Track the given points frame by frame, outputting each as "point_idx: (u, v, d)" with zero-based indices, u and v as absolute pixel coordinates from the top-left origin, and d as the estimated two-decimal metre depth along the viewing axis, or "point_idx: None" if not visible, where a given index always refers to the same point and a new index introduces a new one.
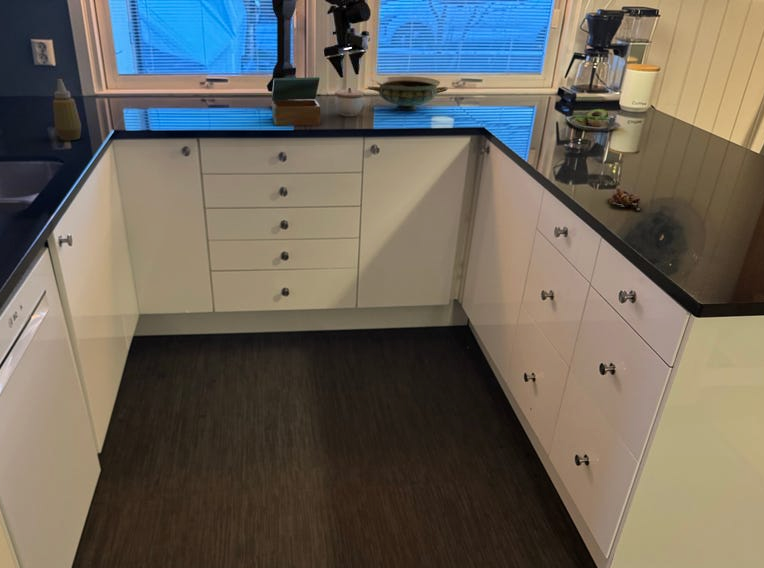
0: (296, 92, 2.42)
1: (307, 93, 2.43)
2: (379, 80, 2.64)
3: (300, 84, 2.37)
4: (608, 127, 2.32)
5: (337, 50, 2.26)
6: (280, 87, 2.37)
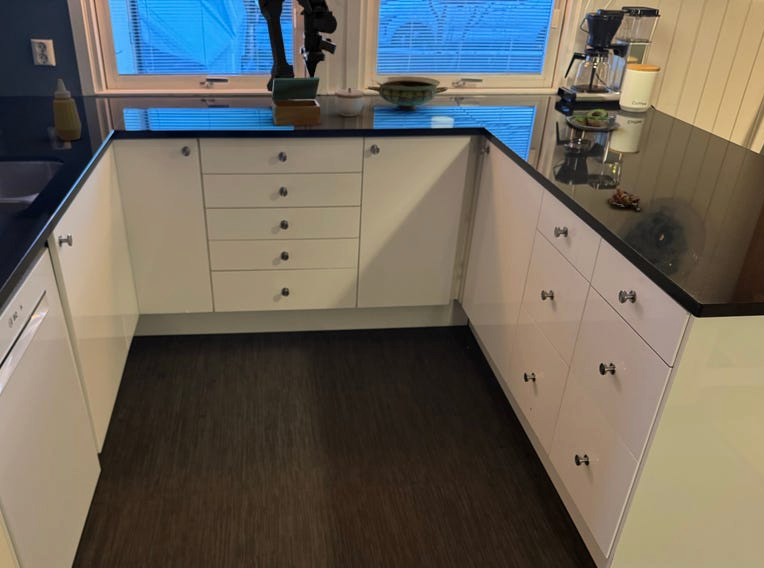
0: (296, 92, 2.42)
1: (307, 93, 2.43)
2: (379, 80, 2.64)
3: (300, 84, 2.37)
4: (608, 127, 2.32)
5: (324, 57, 2.33)
6: (280, 87, 2.37)
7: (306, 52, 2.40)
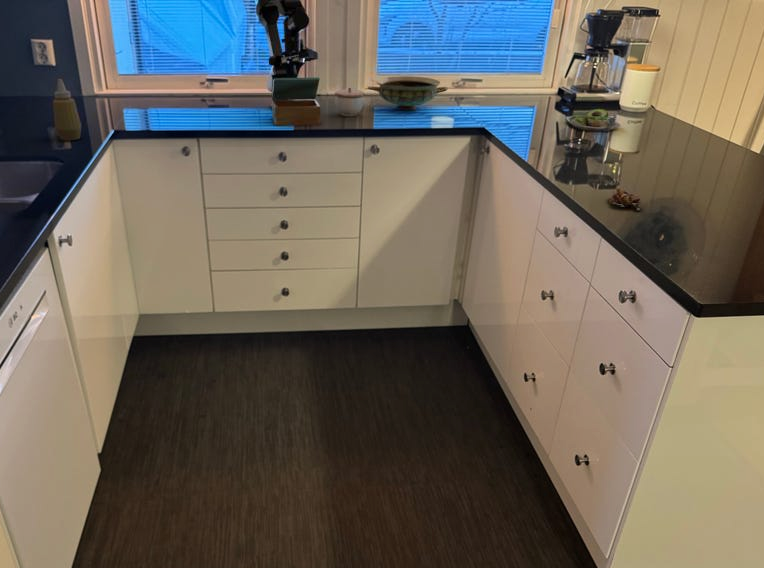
0: (296, 92, 2.42)
1: (307, 93, 2.43)
2: (379, 80, 2.64)
3: (300, 84, 2.37)
4: (608, 127, 2.32)
5: None
6: (280, 87, 2.37)
7: (287, 57, 2.39)
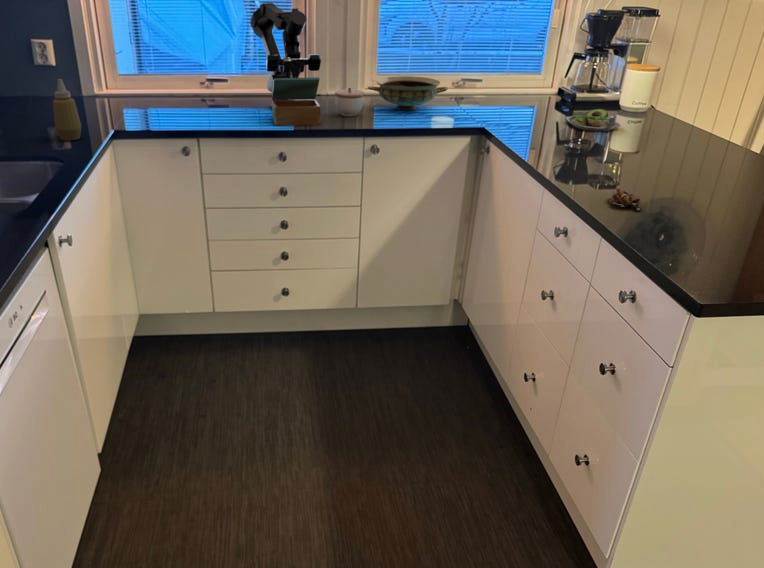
0: (296, 92, 2.42)
1: (307, 93, 2.43)
2: (379, 80, 2.64)
3: (300, 84, 2.37)
4: (608, 127, 2.32)
5: None
6: (280, 87, 2.37)
7: (291, 58, 2.38)
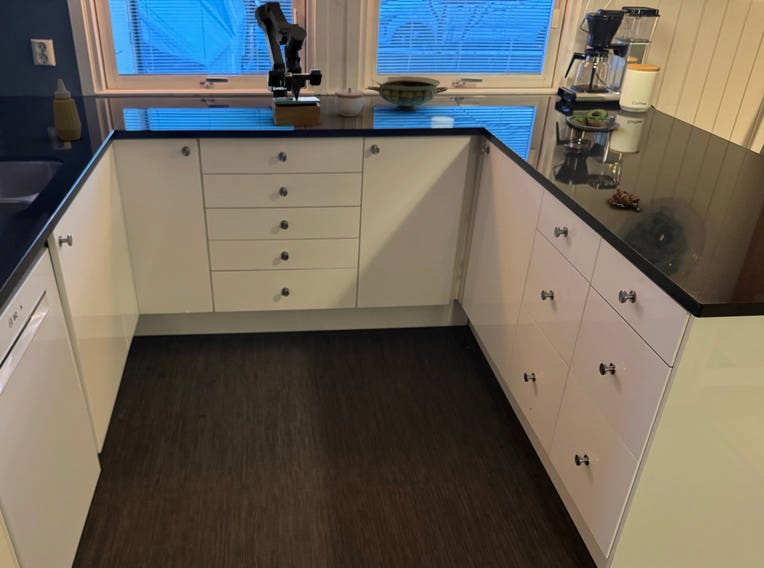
0: None
1: None
2: (379, 80, 2.64)
3: None
4: (608, 127, 2.32)
5: None
6: None
7: (292, 74, 2.38)
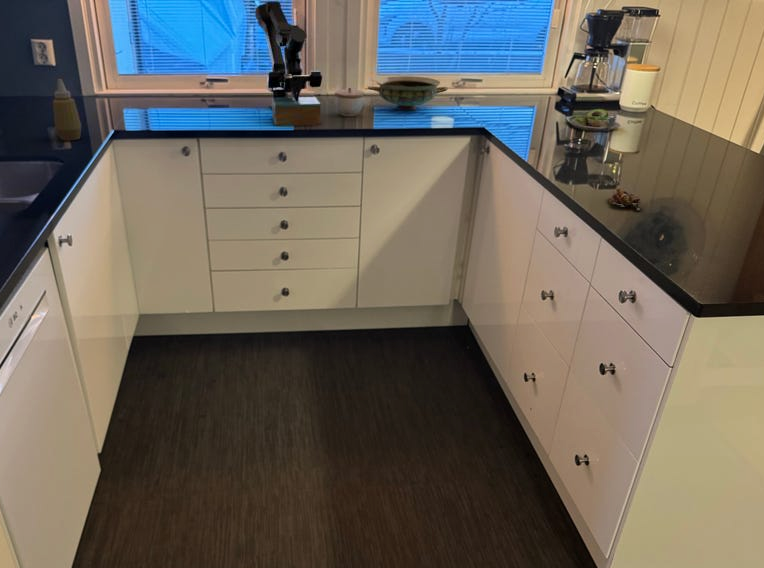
0: None
1: None
2: (379, 80, 2.64)
3: None
4: (608, 127, 2.32)
5: None
6: None
7: (292, 75, 2.38)
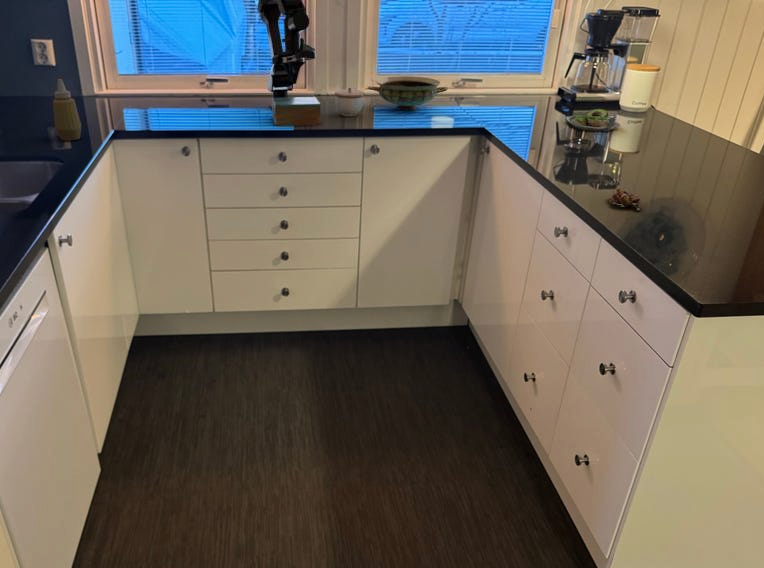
0: None
1: None
2: (379, 80, 2.64)
3: None
4: (608, 127, 2.32)
5: None
6: None
7: (287, 57, 2.39)
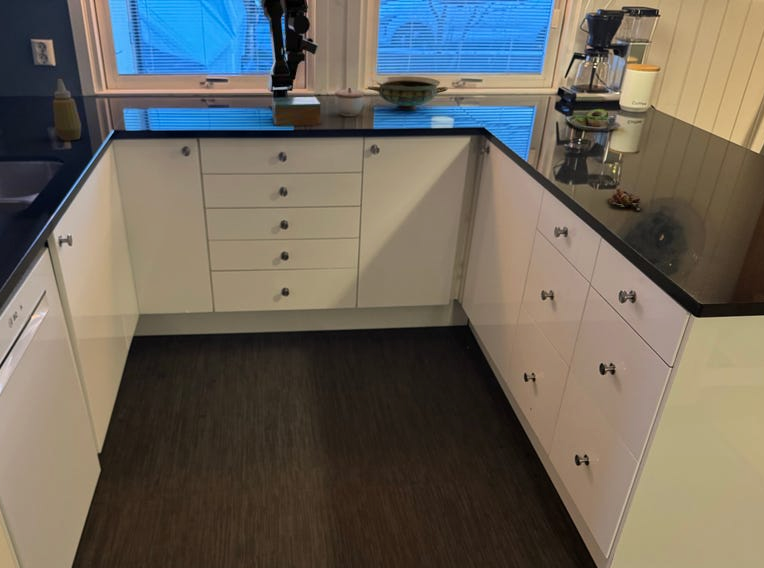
0: None
1: None
2: (379, 80, 2.64)
3: None
4: (608, 127, 2.32)
5: (304, 57, 2.31)
6: None
7: (287, 52, 2.39)
